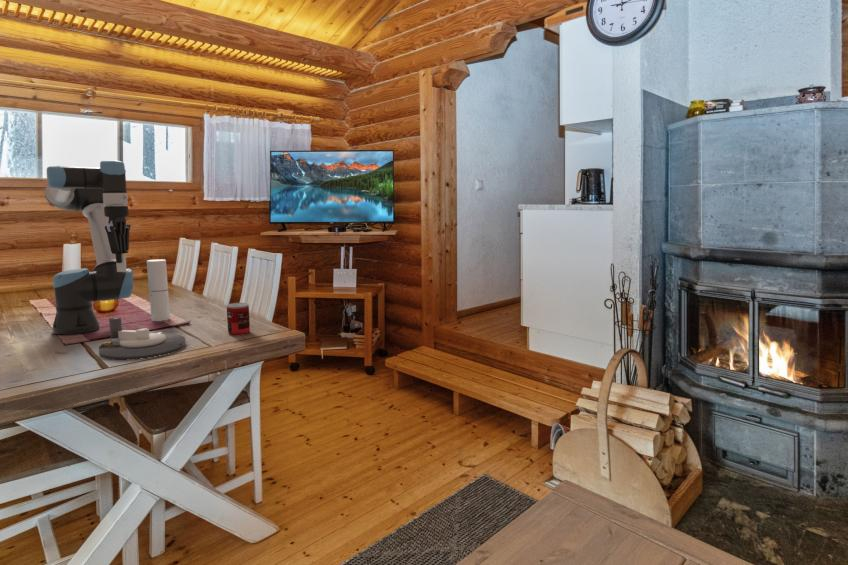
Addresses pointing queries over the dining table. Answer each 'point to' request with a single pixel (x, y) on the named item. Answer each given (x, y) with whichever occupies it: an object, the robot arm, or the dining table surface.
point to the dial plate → (141, 348)
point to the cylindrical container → (158, 289)
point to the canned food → (238, 318)
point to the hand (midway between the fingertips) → (121, 271)
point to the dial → (134, 335)
